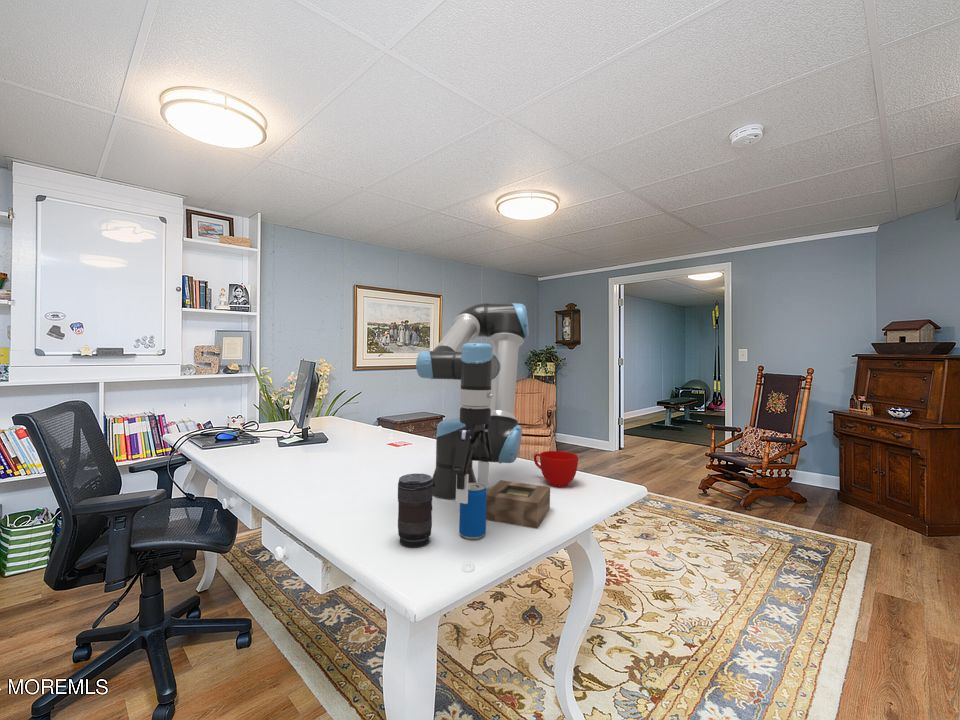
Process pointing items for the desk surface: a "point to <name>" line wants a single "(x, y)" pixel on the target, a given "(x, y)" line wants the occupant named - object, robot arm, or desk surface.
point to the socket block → (517, 504)
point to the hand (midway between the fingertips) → (472, 494)
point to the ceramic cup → (557, 467)
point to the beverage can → (473, 512)
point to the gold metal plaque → (517, 492)
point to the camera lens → (415, 509)
